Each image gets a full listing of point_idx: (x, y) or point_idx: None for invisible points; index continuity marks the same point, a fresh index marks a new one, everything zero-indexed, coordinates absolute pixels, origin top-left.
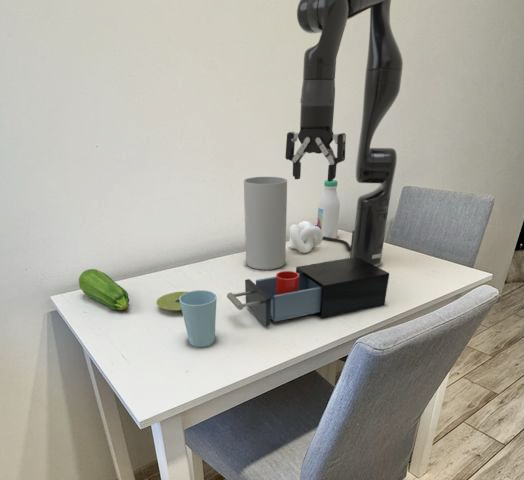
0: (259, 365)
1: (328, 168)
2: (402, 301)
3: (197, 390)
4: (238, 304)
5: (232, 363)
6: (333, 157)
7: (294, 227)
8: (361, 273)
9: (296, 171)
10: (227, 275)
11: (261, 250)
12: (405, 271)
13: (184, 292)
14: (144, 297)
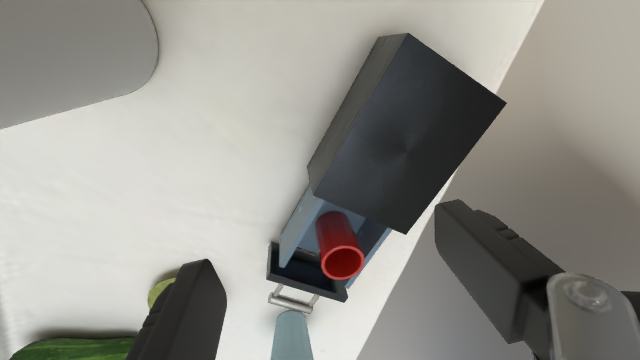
0: (373, 311)
1: (490, 319)
2: (489, 50)
3: (350, 357)
4: (308, 313)
5: (348, 323)
6: (610, 355)
7: None
8: (451, 143)
9: (209, 348)
10: (111, 164)
11: (108, 97)
12: None
13: (161, 285)
14: (114, 307)
